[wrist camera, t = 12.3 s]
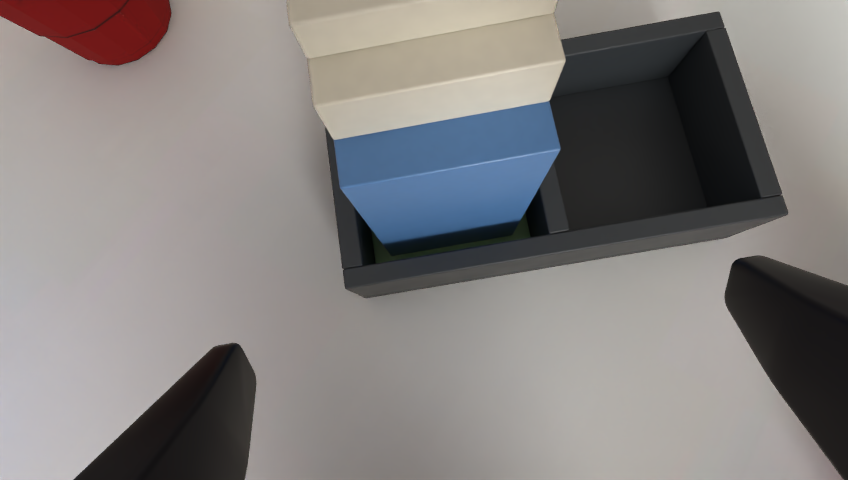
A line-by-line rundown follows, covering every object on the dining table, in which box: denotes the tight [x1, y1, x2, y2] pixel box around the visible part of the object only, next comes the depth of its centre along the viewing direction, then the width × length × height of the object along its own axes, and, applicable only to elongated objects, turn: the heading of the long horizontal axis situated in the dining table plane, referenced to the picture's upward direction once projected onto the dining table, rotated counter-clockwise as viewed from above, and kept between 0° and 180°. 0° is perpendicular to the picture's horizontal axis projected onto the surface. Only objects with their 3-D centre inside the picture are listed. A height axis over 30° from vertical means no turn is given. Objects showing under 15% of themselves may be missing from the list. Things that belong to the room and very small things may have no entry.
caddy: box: [325, 12, 788, 298], centre depth 20 cm, size 9×17×4 cm, turn 99°
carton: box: [286, 0, 566, 256], centre depth 15 cm, size 6×6×13 cm
